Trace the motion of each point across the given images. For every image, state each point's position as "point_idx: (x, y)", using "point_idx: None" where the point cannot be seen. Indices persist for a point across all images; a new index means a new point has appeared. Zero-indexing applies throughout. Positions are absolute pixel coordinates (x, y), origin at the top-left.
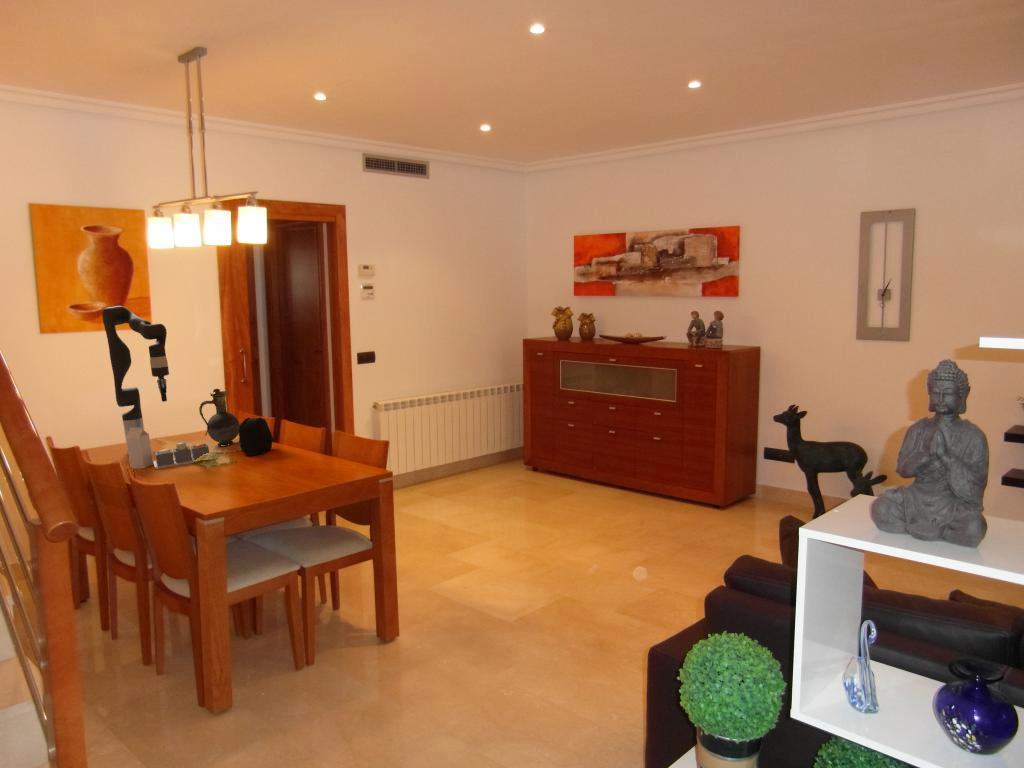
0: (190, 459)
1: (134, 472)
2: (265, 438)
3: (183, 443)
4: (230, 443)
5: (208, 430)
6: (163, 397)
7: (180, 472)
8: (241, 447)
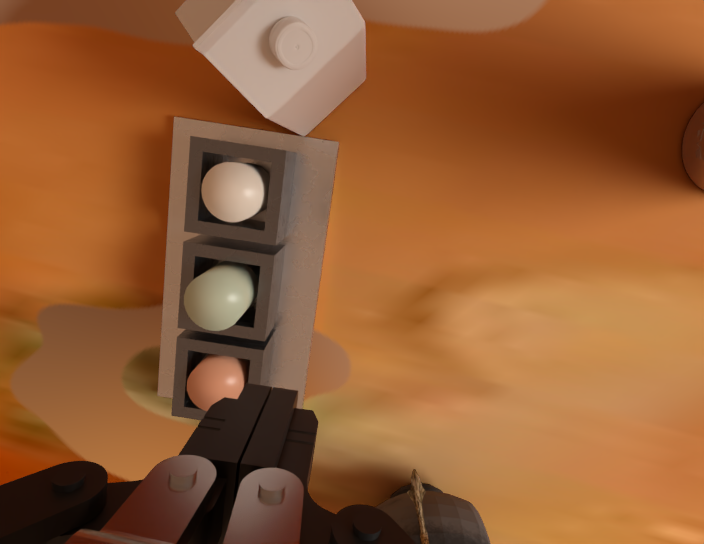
0: None
1: None
2: None
3: (198, 313)
4: None
5: (426, 516)
6: (194, 441)
7: (17, 202)
8: None
